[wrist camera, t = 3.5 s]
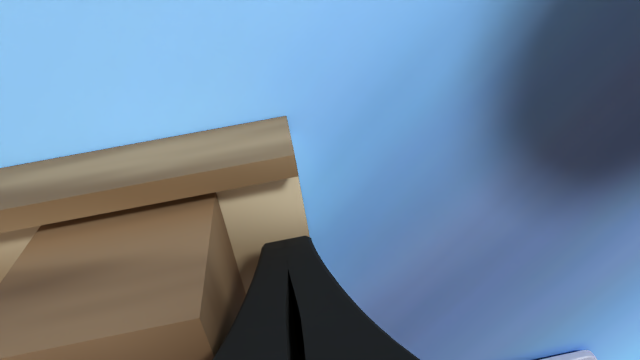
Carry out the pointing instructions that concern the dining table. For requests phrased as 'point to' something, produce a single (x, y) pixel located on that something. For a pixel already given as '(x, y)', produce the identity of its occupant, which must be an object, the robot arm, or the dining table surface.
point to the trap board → (165, 186)
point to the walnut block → (124, 286)
